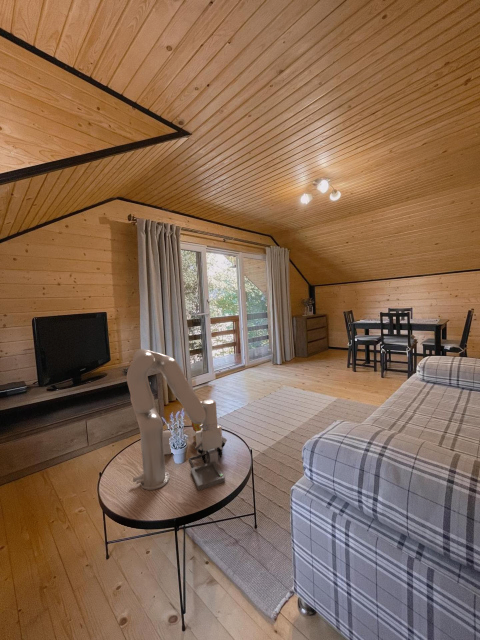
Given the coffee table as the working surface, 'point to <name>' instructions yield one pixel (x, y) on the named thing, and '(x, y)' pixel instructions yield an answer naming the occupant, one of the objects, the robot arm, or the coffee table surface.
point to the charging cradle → (207, 475)
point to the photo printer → (166, 442)
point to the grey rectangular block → (212, 455)
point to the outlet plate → (198, 438)
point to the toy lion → (196, 429)
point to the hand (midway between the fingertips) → (212, 458)
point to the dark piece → (197, 457)
